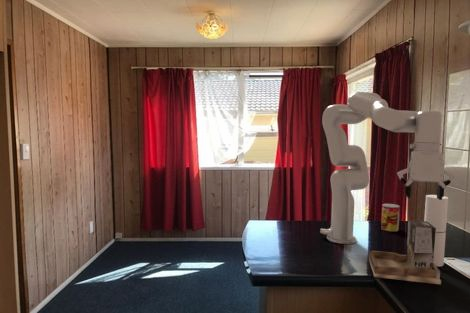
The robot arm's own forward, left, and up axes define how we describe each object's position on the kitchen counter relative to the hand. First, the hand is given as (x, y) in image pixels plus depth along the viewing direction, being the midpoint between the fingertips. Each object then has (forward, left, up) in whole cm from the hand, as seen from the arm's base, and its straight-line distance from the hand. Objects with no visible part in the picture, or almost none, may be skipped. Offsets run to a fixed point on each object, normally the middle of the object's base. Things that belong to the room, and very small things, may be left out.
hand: (423, 198), depth 120 cm
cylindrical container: (+7, +12, -26) cm, 30 cm away
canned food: (0, +55, -26) cm, 61 cm away
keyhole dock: (-5, 0, -26) cm, 27 cm away
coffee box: (0, 0, -25) cm, 25 cm away
